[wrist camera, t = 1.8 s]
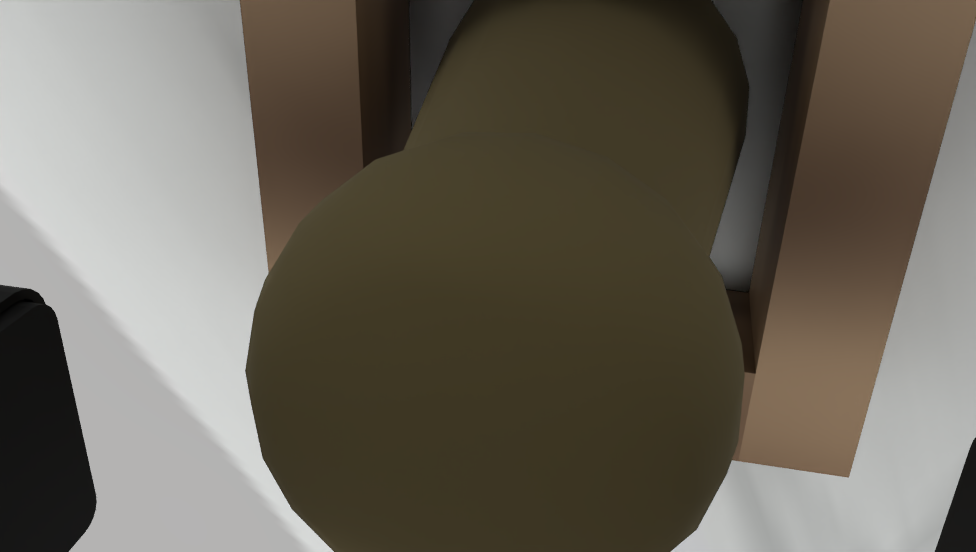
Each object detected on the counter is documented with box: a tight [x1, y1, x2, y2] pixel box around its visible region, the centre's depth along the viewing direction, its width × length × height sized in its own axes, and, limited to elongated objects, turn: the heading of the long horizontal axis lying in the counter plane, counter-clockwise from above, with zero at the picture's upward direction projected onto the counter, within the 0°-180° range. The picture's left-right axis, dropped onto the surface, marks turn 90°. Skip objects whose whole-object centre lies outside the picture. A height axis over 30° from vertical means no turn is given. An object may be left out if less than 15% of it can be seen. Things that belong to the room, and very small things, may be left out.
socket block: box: [240, 0, 976, 477], centre depth 16 cm, size 11×11×3 cm
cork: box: [245, 0, 749, 552], centre depth 13 cm, size 6×6×11 cm
